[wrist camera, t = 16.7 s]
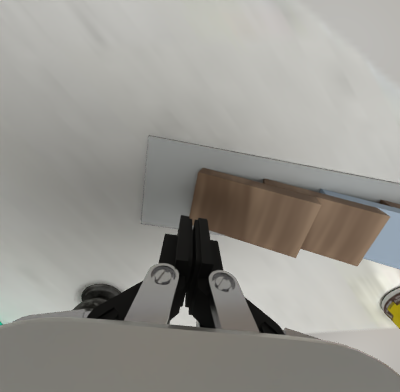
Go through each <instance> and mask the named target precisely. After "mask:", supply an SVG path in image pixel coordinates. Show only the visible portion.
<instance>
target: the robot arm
mask: <svg viewBox="0 0 400 392" xmlns="http://www.w3.org/2000/svg"><path fill="white" fill-rule="evenodd" d="M185 293H186V298H185V307H189V315H193V317H194V318H195V319H196V320H197V321H196V327H192V326H180V325H169V324H170V320H171V319H172V318H173V317H175V316H176V315H177V314H178V313H179V310H180V307H182V306H183V302H184V297H185ZM0 392H400V375H399V374H397V373H396V372H395V371H394V370H393V369H391V368H390V367H389V366H387V365H386V364H384V363H383V362H381V361H380V360H378V359H376V358H374V357H372V356H371V355H368V354H366V353H364V352H362V351H360V350H358V349H355V348H351V347H349V346H346V345H343V344H339V343H335V342H331V341H325V340H321V339H318V338H315V337H312V336H309V335H306V334H303V333H300V332H297V331H294V330H291V329H288V328H285V329H284V330H282V329H281V328H280V326H279V325H278V324H277V323H276V322H274V321H273V320H272V319H271V318H270V317H268V316H267V315H266V314H265V313H263V312H262V311H261V310H260V309H259V308H257V307H256V306H255V305H254V304H252V303H251V302H250V301H249V300H247V299H246V298H245V297H244V295H243V293H242V290H241V288H240V286H239V284H238V281H237V280H236V278H235V277H234V276H233V275H232V274H230V273H229V272H226V271H223V266H222V261H221V256H220V251H219V246H218V242H217V241H213V240H210V235H209V228H208V220H207V219H204V218H198V220H195V221H194V226H193V230H192V219H189V216H184V215H181V217H180V223H179V228H178V234H177V235H170V234H165V237H164V242H163V246H162V251H161V255H160V260H159V264H156V265H154V266H152V267H151V268H150V269H149V271H148V272H147V274H146V276H145V279H144V281H142V282H140V283H138V284H136V285H135V286H133V287H131V288H129V289H127V290H126V291H124V292H122V293H120V294H118V295H116V296H115V297H113V298H111V299H109V300H107V301H106V302H104V303H102V304H100V305H98V306H97V307H96V308H94V309H93V310H92V311H87V312H84V309H80V310H71V311H63V312H54V313H45V314H37V315H29V316H25V317H21V318H19V319H17V320H15V321H13V322H12V323H8V324H4V325H0Z"/></svg>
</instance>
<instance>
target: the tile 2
mask: <svg viewBox="0 0 400 392" xmlns="http://www.w3.org/2000/svg"><path fill="white" fill-rule="evenodd" d="M263 183H264V184H268V185H271V186H275V187H279V188H283V189H287V190H291V191H294V192H298V193H302V194H306V195H310V196H313V197H316V199H317V200H318V201H319V202H320V203H321V207H320V210H319V212H318V214H317V216H316V218H315V220H314V222H313V224H312V226H311V228H310V230H309V232H308V234H307V236H306V238H305V240H304V242H303V244H302V246H301V248H300V249H303V250H307V251H310V252H313V253H316V254H320V255H323V256H326V257H329V258H332V259H336V260H339V261H342V262H345V263H348V264H352V265H355V266H358V265H359V263H360V262H361V260H362V259H363V257H364V256H365V254H366V253H367V251H368V250H369V248H370V247H371V245H372V244H373V242H374V241H375V239H376V238H377V236H378V235H379V233H380V232H381V230H382V229H383V227H384V226H385V224H386V223H387V221H388V220H389V218H390V216H389V215H387V214H386V213H384V212H383V211H381V210H380V209H378V208H376V207H372V206H368V205H364V204H361V203H357V202H353V201H349V200H345V199H341V198H338V197H334V196H330V195H326V194H322V193H318V192H315V191H311V190H307V189H303V188H299V187H295V186H292V185H288V184H284V183H280V182H276V181H272V180H269V179H265V178H264V180H263Z"/></svg>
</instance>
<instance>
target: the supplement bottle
mask: <svg viewBox="0 0 400 392" xmlns="http://www.w3.org/2000/svg"><path fill="white" fill-rule="evenodd" d="M382 310H383V311H384V313H385V314H386V315H387V316H388V317H389V318H390V319H391V320H392V321H393V322H394V323H395V324H396V325H397V327H398V328H399V329H400V288H398V289H396V290H394V291H392V292H390V293H389V294H388V295H386V297H385V298H384V299H383V301H382Z"/></svg>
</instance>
